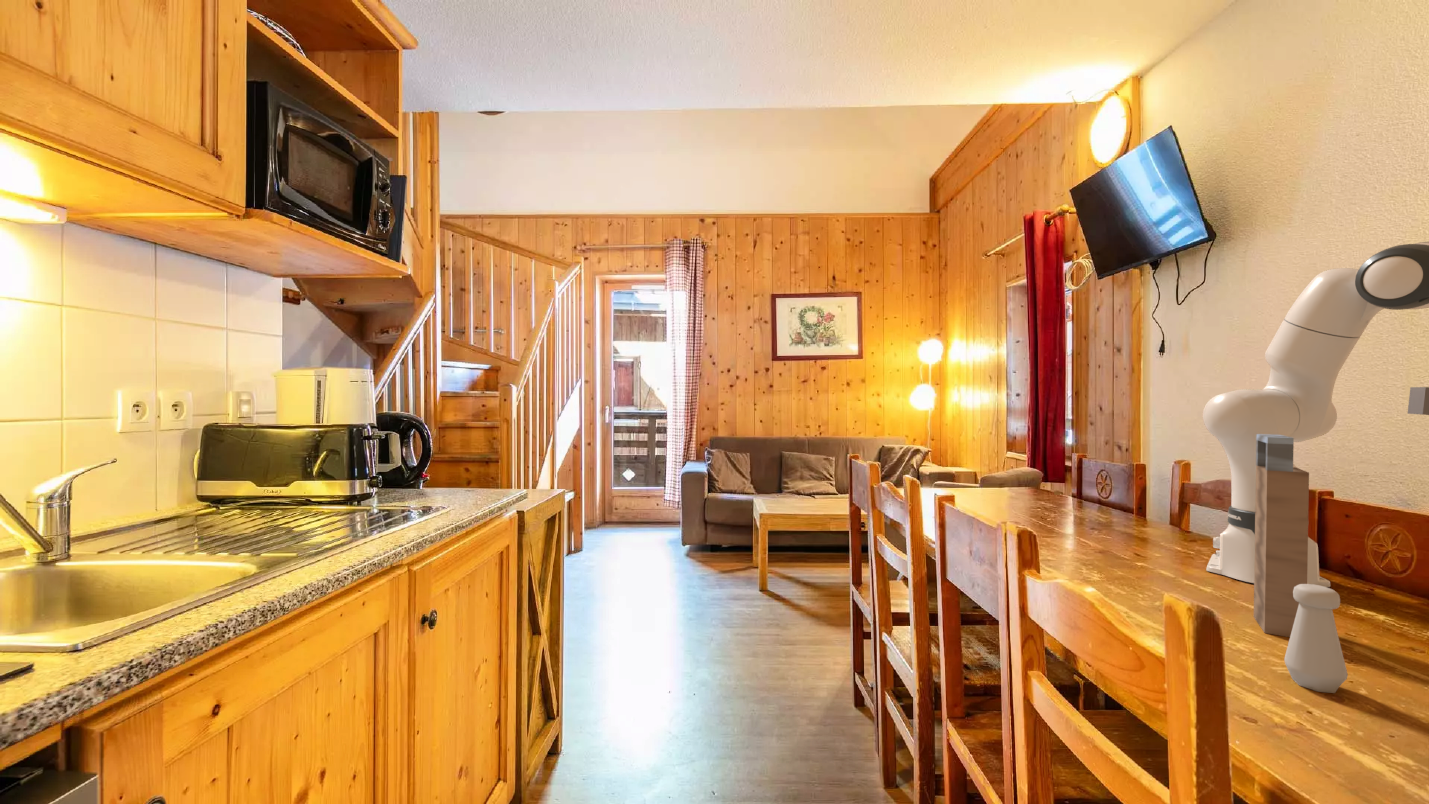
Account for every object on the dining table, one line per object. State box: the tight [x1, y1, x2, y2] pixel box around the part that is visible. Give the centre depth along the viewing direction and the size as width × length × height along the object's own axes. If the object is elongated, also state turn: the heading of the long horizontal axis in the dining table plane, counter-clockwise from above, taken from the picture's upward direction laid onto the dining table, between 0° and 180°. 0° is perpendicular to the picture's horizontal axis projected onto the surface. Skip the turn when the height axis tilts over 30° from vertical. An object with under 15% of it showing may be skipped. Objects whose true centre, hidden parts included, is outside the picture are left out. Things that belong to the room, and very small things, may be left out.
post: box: [1253, 434, 1310, 638], centre depth 96 cm, size 8×5×31 cm, turn 147°
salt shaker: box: [1283, 584, 1348, 694], centre depth 77 cm, size 6×6×13 cm
